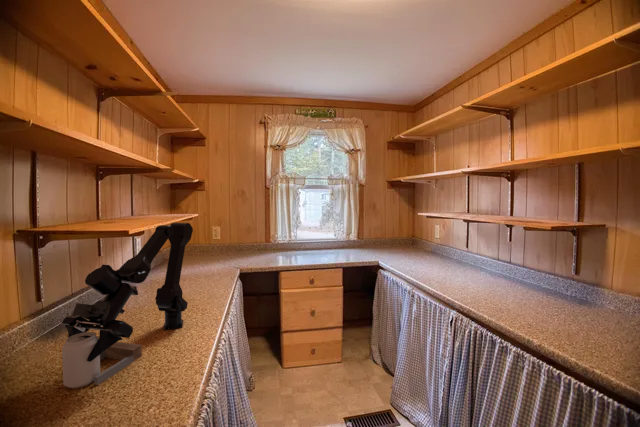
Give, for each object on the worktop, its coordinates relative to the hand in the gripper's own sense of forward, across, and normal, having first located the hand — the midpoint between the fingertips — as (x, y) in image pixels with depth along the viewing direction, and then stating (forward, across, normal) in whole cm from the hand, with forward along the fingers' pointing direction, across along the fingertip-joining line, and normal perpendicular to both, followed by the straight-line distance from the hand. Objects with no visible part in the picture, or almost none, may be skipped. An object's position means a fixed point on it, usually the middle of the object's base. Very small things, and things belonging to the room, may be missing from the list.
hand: (76, 359), depth 74 cm
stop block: (-5, 0, +14) cm, 15 cm away
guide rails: (0, 0, +10) cm, 10 cm away
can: (+4, 0, +6) cm, 7 cm away
